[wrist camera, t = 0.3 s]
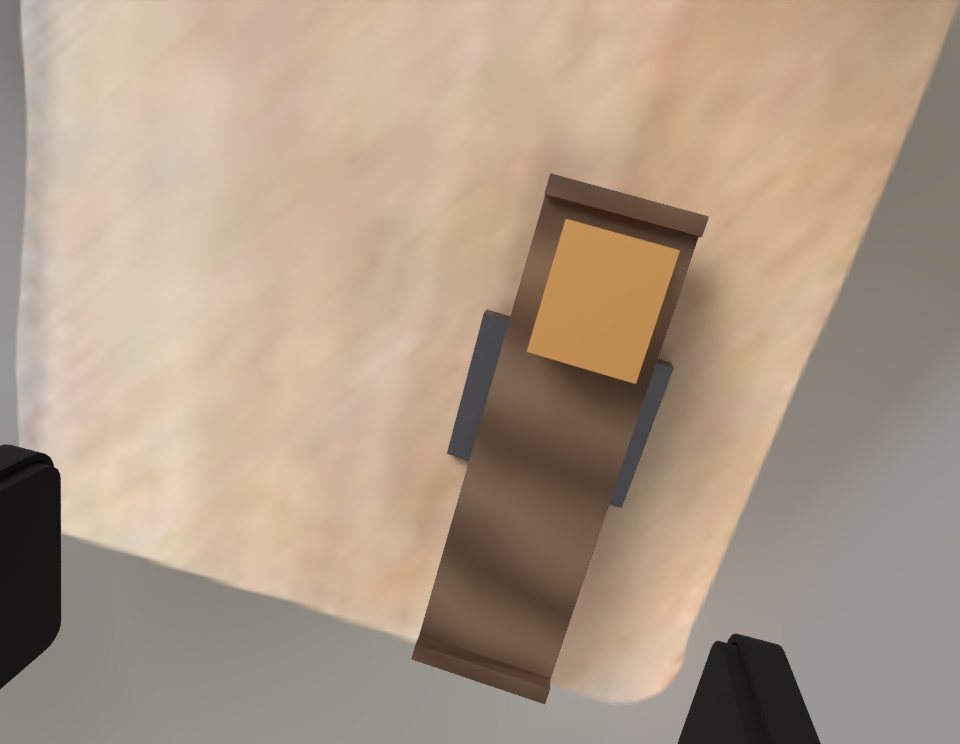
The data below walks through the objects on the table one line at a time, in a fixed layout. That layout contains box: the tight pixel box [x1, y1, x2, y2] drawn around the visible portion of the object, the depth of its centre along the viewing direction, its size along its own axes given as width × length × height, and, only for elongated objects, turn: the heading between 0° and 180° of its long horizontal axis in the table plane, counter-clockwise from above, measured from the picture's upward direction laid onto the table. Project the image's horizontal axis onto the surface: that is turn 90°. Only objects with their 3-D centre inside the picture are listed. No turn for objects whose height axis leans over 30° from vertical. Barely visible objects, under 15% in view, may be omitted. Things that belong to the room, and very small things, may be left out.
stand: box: [447, 310, 673, 508], centre depth 43 cm, size 18×12×6 cm, turn 166°
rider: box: [527, 219, 680, 384], centre depth 32 cm, size 6×5×6 cm
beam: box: [412, 174, 709, 704], centre depth 37 cm, size 28×8×2 cm, turn 166°
